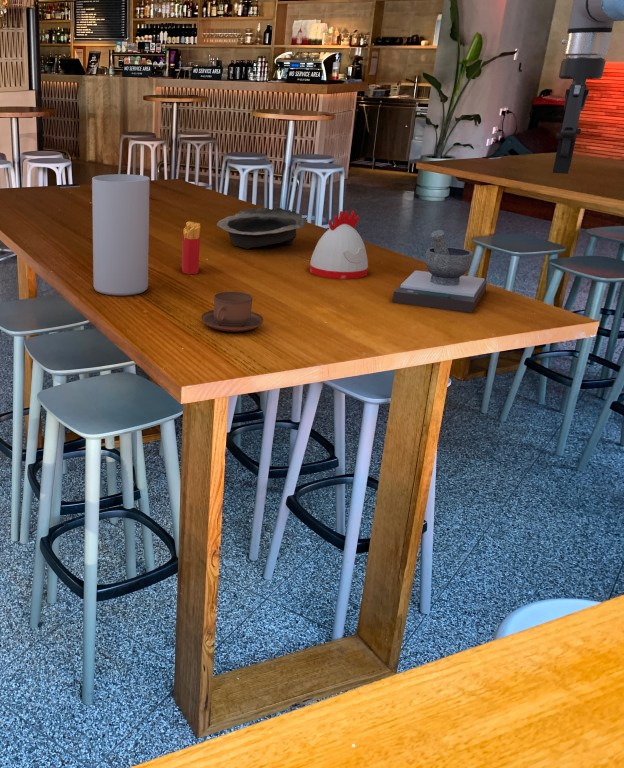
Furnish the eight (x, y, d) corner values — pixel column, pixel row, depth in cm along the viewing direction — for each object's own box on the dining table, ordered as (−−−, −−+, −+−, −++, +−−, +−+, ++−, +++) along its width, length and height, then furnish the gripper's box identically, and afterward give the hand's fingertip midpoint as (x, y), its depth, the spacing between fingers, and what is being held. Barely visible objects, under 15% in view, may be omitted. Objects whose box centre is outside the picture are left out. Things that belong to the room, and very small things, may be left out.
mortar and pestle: (440, 274, 181) (449, 222, 176) (477, 283, 174) (487, 229, 169) (408, 281, 175) (415, 227, 171) (444, 290, 168) (453, 234, 164)
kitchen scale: (471, 313, 164) (474, 298, 162) (392, 302, 171) (394, 288, 170) (485, 291, 179) (487, 277, 178) (412, 282, 187) (414, 269, 186)
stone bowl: (304, 237, 234) (307, 206, 230) (302, 262, 212) (306, 228, 208) (220, 232, 239) (222, 202, 235) (211, 257, 217) (212, 223, 213)
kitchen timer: (378, 275, 193) (386, 213, 187) (330, 280, 188) (336, 217, 183) (345, 263, 205) (351, 204, 199) (298, 267, 201) (304, 208, 195)
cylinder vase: (154, 295, 177) (155, 180, 168) (99, 298, 175) (98, 182, 165) (140, 281, 188) (141, 173, 179) (89, 284, 186) (87, 175, 177)
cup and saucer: (259, 339, 149) (261, 307, 146) (196, 333, 152) (197, 302, 149) (265, 320, 159) (267, 290, 157) (206, 316, 162) (207, 286, 160)
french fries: (180, 267, 202) (181, 219, 197) (195, 266, 202) (197, 219, 197) (184, 275, 194) (185, 226, 189) (200, 275, 194) (202, 226, 189)
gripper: (564, 58, 165) (544, 163, 173) (559, 56, 145) (537, 175, 153) (606, 58, 162) (583, 164, 170) (606, 56, 142) (581, 177, 150)
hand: (561, 170), depth 161 cm, fingers open, 13 cm apart
